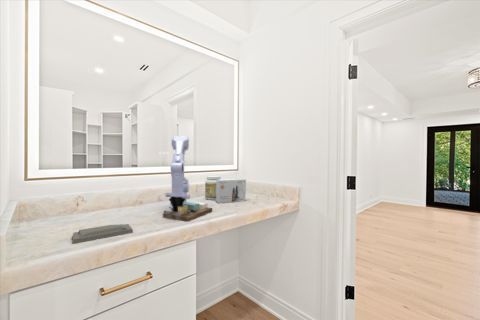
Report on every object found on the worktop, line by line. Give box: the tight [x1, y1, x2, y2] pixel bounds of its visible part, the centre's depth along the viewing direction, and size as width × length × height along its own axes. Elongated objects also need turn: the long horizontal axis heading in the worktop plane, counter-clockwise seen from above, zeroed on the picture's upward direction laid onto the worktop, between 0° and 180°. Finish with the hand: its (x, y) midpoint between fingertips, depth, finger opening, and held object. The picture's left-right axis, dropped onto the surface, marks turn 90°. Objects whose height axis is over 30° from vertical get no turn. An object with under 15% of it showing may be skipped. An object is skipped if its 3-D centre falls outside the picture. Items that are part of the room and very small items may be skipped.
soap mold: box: [72, 223, 134, 245], centre depth 89 cm, size 10×20×4 cm, turn 128°
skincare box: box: [215, 178, 247, 204], centre depth 156 cm, size 21×6×16 cm, turn 118°
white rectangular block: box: [191, 201, 208, 209], centre depth 128 cm, size 10×5×2 cm, turn 65°
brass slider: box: [178, 205, 188, 215], centre depth 113 cm, size 3×4×4 cm
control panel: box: [162, 207, 213, 222], centre depth 120 cm, size 16×22×4 cm
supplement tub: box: [204, 175, 221, 201], centre depth 166 cm, size 12×12×17 cm
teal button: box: [183, 201, 199, 210], centre depth 120 cm, size 10×5×2 cm, turn 66°
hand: (177, 211), depth 114 cm, fingers closed
